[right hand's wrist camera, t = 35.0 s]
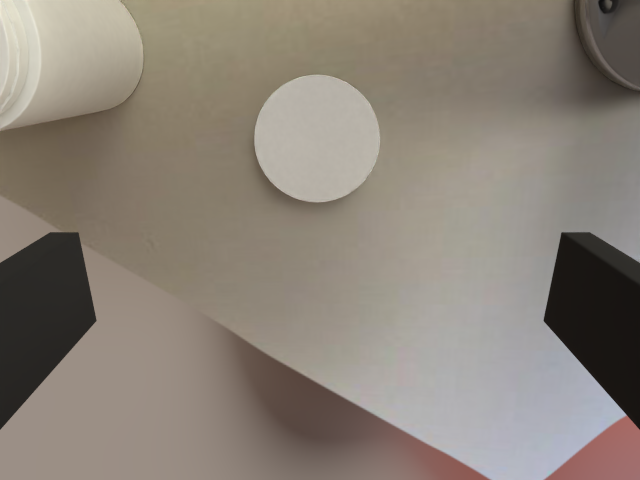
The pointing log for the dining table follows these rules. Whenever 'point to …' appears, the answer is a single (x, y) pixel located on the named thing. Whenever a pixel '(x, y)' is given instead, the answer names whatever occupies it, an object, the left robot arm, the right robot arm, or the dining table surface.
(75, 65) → the jar
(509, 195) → the dining table surface
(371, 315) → the dining table surface
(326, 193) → the lid
